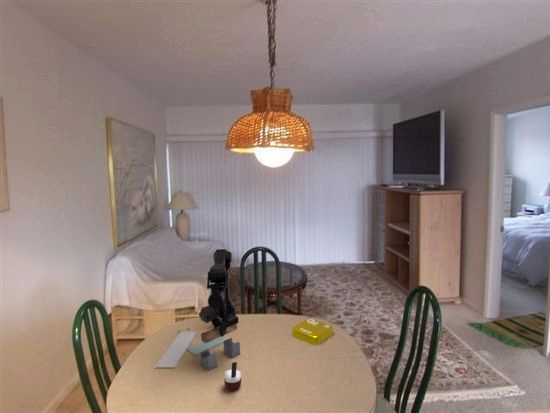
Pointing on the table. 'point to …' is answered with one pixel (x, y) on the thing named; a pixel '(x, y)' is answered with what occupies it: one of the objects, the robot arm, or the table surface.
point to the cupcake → (232, 377)
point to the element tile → (312, 331)
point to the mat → (205, 346)
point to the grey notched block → (208, 359)
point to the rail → (216, 333)
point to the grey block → (231, 348)
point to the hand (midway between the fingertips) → (219, 335)
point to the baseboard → (176, 350)
